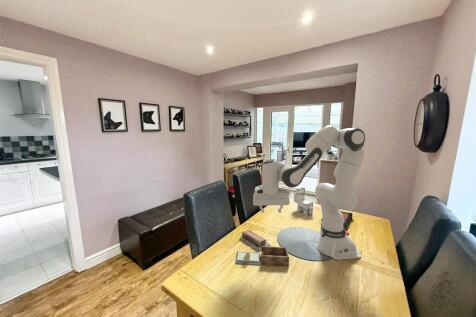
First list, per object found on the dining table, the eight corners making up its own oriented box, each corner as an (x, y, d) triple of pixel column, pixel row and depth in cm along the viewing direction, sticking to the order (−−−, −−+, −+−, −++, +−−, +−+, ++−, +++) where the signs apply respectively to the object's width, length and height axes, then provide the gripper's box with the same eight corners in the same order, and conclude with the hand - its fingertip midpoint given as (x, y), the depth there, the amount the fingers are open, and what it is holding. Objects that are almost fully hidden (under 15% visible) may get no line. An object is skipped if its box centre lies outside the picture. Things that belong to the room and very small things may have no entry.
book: (328, 213, 168) (329, 207, 167) (352, 219, 157) (352, 213, 157) (319, 225, 148) (320, 218, 147) (345, 232, 137) (346, 225, 136)
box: (286, 255, 112) (286, 247, 111) (288, 266, 103) (289, 257, 102) (261, 254, 113) (261, 245, 112) (261, 264, 104) (262, 256, 103)
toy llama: (307, 217, 160) (309, 193, 157) (293, 209, 175) (294, 187, 172) (314, 215, 163) (316, 192, 160) (299, 208, 178) (300, 186, 176)
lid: (258, 254, 112) (258, 246, 111) (258, 262, 105) (258, 254, 104) (238, 253, 113) (238, 245, 112) (237, 261, 106) (237, 252, 105)
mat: (259, 253, 113) (259, 252, 113) (260, 265, 103) (260, 264, 103) (237, 252, 114) (237, 251, 114) (235, 263, 105) (235, 263, 105)
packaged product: (239, 232, 128) (250, 227, 134) (239, 239, 129) (250, 234, 135) (259, 244, 114) (270, 238, 121) (259, 252, 115) (270, 245, 121)
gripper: (288, 186, 111) (288, 209, 114) (252, 187, 113) (253, 210, 115) (290, 190, 105) (290, 214, 107) (252, 191, 107) (253, 214, 109)
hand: (271, 212), depth 111 cm, fingers open, 8 cm apart
